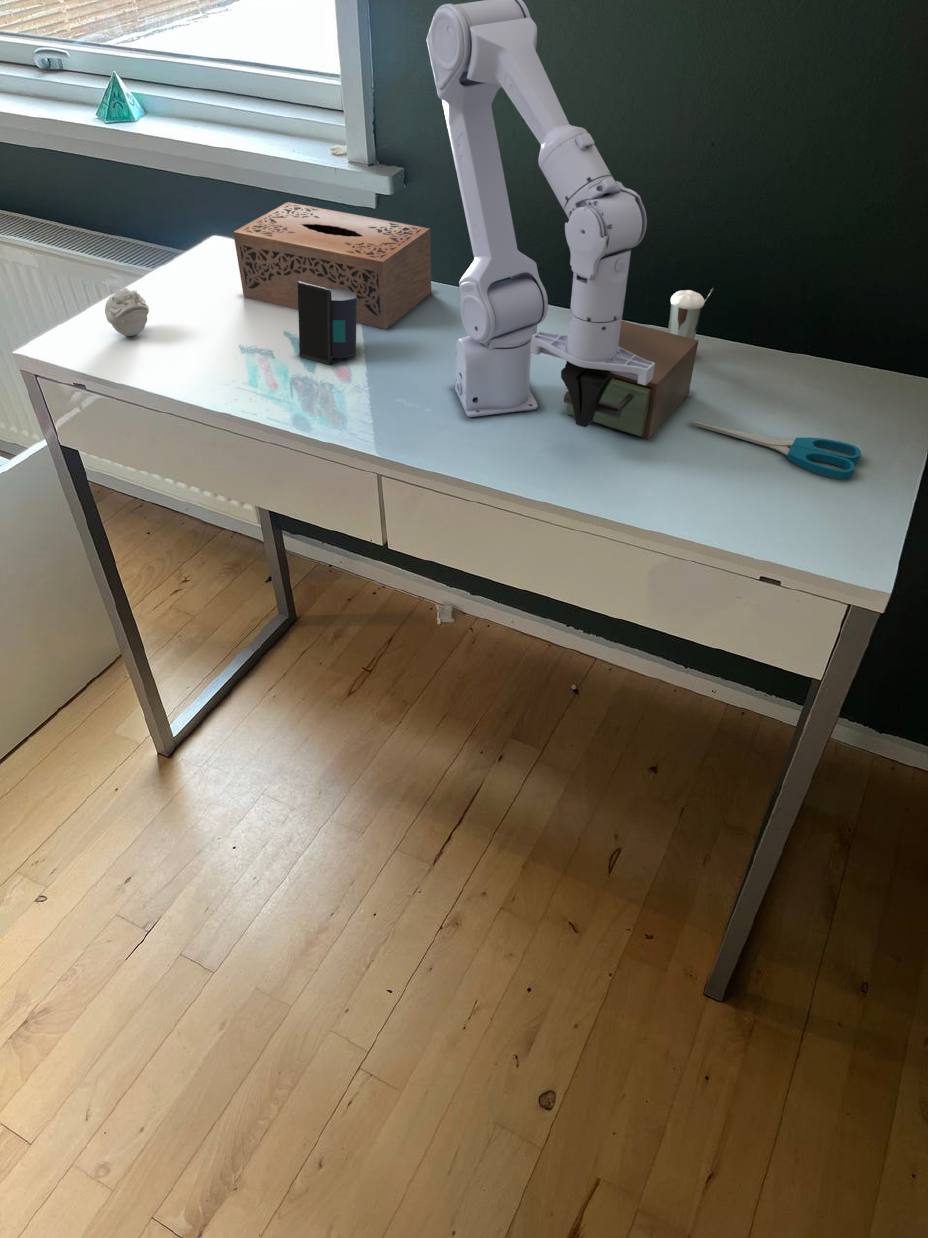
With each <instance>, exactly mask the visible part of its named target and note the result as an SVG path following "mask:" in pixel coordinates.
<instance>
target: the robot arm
mask: <svg viewBox="0 0 928 1238" xmlns="http://www.w3.org/2000/svg"><path fill="white" fill-rule="evenodd" d="M426 44H427V49H428V54H429V59H430V65H431V69H432V73H433V79H434V83H435V87H436V88H435V89H436V94H437V97H438V98H439V99H440V100H441V101H442V108H443V112H444V117H445V121H446V127H447V133H448V136H449V142H450V147H451V152H452V156H453V162H454V167H455V171H456V175H457V180H458V187H459V191H460V197H461V201H462V206H463V210H464V211H463V212H464V216H465V220H466V226H467V230H468V234H469V235H468V236H469V241H470V244H471V245H470V246H471V251H472V255H473V261H472V263H471V264H470V265H469V267H468V268H467V270H466V271H465V272H464V274H463V275H462V276H461V278H460V279H459V281H458V285H459V291H460V318H461V323H462V325H463V328H464V329H465V331H466V333H467V334H468V335H466V336H463V337H459V338H457V340H456V344H455V385H454V390H455V393H456V395H457V397H458V399H459V402H460V404H461V406H462V408H463V409H464V412H465V414H466V416H467V417H469V418H473V417H481V416H483V417H484V416H489V415H499V414H508V413H515V412H524V411H532V410H537V409H538V408H539V404H538V402H537V400H536V399H535V396H534V395H533V393H532V392H531V390H530V380H531V379H530V378H531V363H532V362H531V361H532V360H531V359H532V354H534V355H537V356H538V355H540V354H544V355H548V356H551V357H555V358H558V359H562V360H564V361H566V362H565V365H564V367H563V368H562V369H561V370H560V378H561V380H562V382H563V383H564V385H565V387H566V390H567V391H568V392H569V395H570V398H571V401H572V405H573V410H574V416H573V417H574V422H575V425H576V426H578V427H579V426H580V427H582V428H587V427H588V426H589V425H590V424H591V423H593V422H592V421H593V418H594V414H595V411H596V408H597V406H598V404H599V401H600V399H601V397H602V395H603V393H604V392H605V390H606V388H607V386H608V385H609V383H610V382H611V380H612V379H613V377H614V376H615V374H617V375H621V376H624V377H628V378H631V379H635V380H638V383H639V384H642V385H645V386H646V385H647V384H648V383H649V382H650V381H651V380H652V379H653V374H654V368H655V363H654V362H650V361H647V360H645V359H643V358H640V357H638V356H636V355H634V354H633V353H631V352H629V351H627V350H625V349H623V348H621V347H619V346H618V345H619V337H620V330H621V322H622V321H623V314H624V308H625V307H624V306H625V299H626V291H627V284H628V277H629V276H628V275H629V269H630V262H631V261H630V260H631V253H632V249H633V248H635V247H637V246H638V245H640V243H641V242H642V241H643V239H644V237H645V235H646V231H647V223H648V219H647V218H648V217H647V212H646V208H645V206H644V204H643V201H642V198H641V196H640V195H639V194H638V193H637V192H636V191H635V190H632V189H631V188H627V187H625V186H624V185H623V183H622V182H621V181H619V180H615V179H614V176H613V175H612V173H611V172H610V170H609V168H608V166H607V164H606V162H605V161H604V159H603V157H602V155H601V153H600V152H599V150H598V148H597V146H596V145H595V143H596V142H595V140H594V138H593V137H592V135H591V134H590V133H589V132H588V130H587V129H585V128H584V127H581V126H575V125H571V124H570V122H569V120H568V118H567V116H566V113H565V111H564V110H563V107H562V105H561V103H560V101H559V99H558V96H557V93H556V92H555V90H554V88H553V85H552V83H551V81H550V79H549V77H548V74H547V72H546V71H545V68H544V65H543V63H542V61H541V58H540V57H539V54H538V52H537V44H538V27H537V24H536V22H535V21H534V20H533V19H532V17H531V14H530V10H529V9H528V7H527V4H526V2H525V1H523V0H478V1H477V0H476V1H471V2H463V3H455V4H453V3H444V4H441V5H440V6H439V7H438V8H437V9H436V11H435V13H434V14H433V17H432V20H431V23H430V27H429V30H428V33H427V36H426ZM501 88H502V89H503V91H504V92H505V94H506V95H507V97H508V98H509V99H510V101H511V103H512V104H513V106H514V107H515V109H516V110H517V112H518V113H519V114H520V116H521V117H522V119H523V121H524V122H525V123H526V125H527V127H528V128H529V130H530V131H531V132H532V134H533V135H534V137H535V138H536V140H537V142H538V143H539V145H540V149H539V154H538V161H537V162H538V166H539V168H540V170H541V173H542V174H543V175H544V177H545V179H546V181H547V182H548V184H549V186H550V188H551V190H552V191H553V194H554V196H555V197H556V199H557V200H558V201H557V202H559V204H560V207H561V208H562V210H563V211H564V214H565V215H566V217H567V219H568V221H567V222H565V223H564V232H565V233H564V234H565V239H566V243H567V245H568V248H569V251H570V252H569V253H570V260H569V265H570V266H571V271H572V272H573V276H572V286H571V298H570V309H569V316H568V317H569V318H568V328H567V334H557V333H549V332H545V331H541V330H539V331H538V325H539V324H541V323H543V322H544V320H545V319H546V317H547V314H548V309H549V300H548V299H549V298H548V294H547V291H546V288H545V286H544V284H543V282H542V281H541V278H540V275H539V272H538V266H537V265H538V264H537V262H536V261H535V260H533V259H531V258H530V257H528V256H527V255H525V254H524V253H522V252H521V251H519V249H518V244H517V239H516V233H515V228H514V223H513V218H512V211H511V207H510V201H509V196H508V189H507V184H506V180H505V174H504V167H503V162H502V157H501V151H500V147H499V146H500V145H499V141H498V134H497V131H496V130H497V129H496V125H495V119H494V113H493V107H492V105H493V102H494V99H495V98H496V95H497V93H498V91H499V90H500V89H501ZM507 278H509V279H507ZM505 279H506V280H505ZM501 280H502V281H501ZM498 281H499V282H498ZM495 282H496V283H495Z"/></svg>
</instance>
